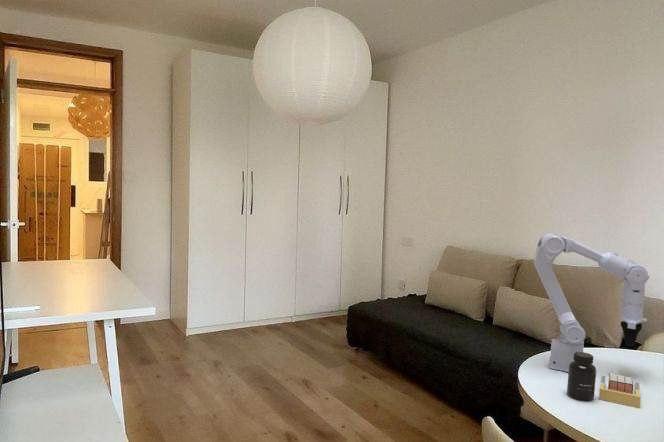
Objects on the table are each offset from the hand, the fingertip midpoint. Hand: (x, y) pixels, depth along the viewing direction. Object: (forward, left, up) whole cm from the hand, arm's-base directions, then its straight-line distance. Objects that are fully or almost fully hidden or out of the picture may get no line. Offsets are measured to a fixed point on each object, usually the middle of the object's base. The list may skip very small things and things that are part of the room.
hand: (629, 346), depth 153 cm
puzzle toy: (-2, -21, -10) cm, 23 cm away
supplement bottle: (-11, -26, -10) cm, 30 cm away
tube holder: (-2, -18, -9) cm, 20 cm away
